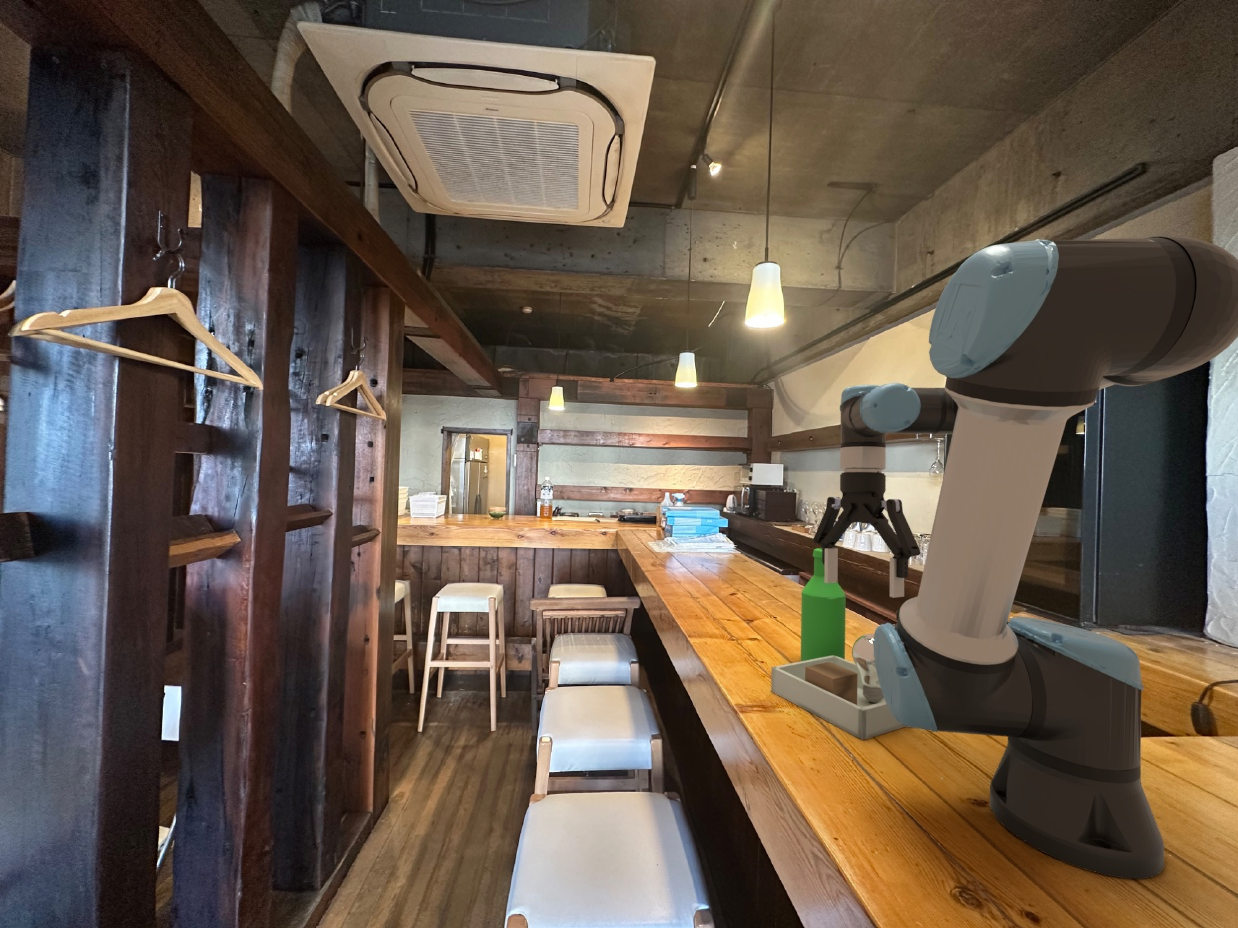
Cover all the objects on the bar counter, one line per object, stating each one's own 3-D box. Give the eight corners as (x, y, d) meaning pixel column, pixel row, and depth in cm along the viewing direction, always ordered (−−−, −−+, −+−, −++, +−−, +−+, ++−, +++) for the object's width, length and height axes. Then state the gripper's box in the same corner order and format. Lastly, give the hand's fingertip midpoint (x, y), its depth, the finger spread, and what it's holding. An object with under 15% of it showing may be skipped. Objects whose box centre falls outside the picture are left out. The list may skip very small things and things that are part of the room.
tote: (929, 719, 87) (929, 692, 87) (862, 740, 80) (862, 710, 80) (833, 677, 105) (833, 654, 105) (771, 691, 97) (771, 667, 97)
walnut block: (832, 715, 87) (833, 678, 87) (804, 700, 92) (805, 666, 92) (857, 708, 89) (857, 673, 90) (828, 694, 95) (829, 661, 95)
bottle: (848, 665, 112) (849, 548, 112) (840, 678, 105) (842, 553, 105) (805, 656, 117) (807, 545, 117) (795, 668, 109) (797, 549, 110)
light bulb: (900, 703, 92) (901, 635, 92) (887, 715, 87) (888, 643, 87) (860, 691, 97) (860, 626, 97) (845, 702, 92) (846, 633, 92)
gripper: (944, 471, 85) (944, 601, 84) (822, 473, 108) (821, 576, 107) (915, 469, 82) (915, 605, 81) (795, 471, 104) (794, 578, 103)
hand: (861, 589), depth 94 cm, fingers open, 13 cm apart
